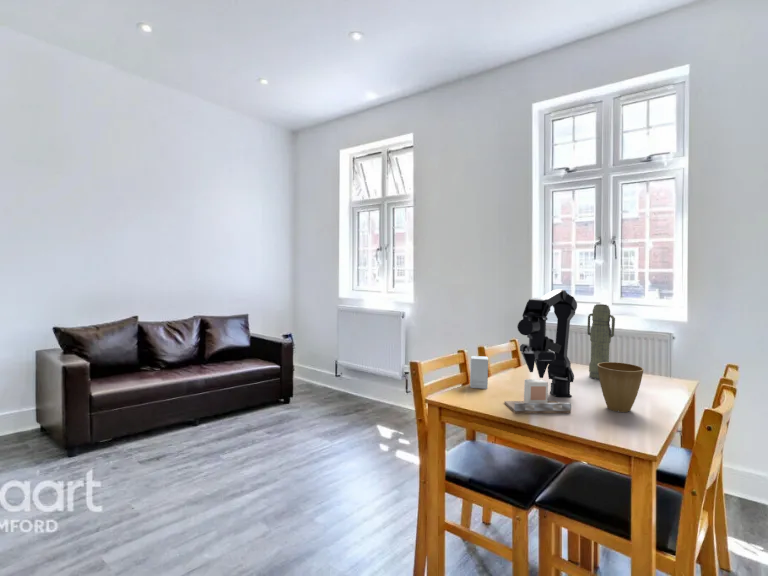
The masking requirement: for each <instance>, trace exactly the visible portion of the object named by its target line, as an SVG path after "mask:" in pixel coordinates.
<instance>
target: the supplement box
mask: <svg viewBox="0 0 768 576" xmlns="http://www.w3.org/2000/svg"><path fill="white" fill-rule="evenodd" d="M469 372H470V373H469V374H470V376H469V377H470V379H469V380H470V383H469V384H470V385H469V387H470V388H471V389H472V388H474V389H485V390H488V388H489V387H488V380H489V377H488V376H489V357H488V356H479V355H471V357H470V371H469Z"/></svg>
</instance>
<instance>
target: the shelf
mask: <svg viewBox="0 0 768 576" xmlns="http://www.w3.org/2000/svg"><path fill="white" fill-rule="evenodd" d="M504 404H505V405H506V406H507V407H508V408H509V409H510V408H511V409H512V410H511V409H510V410H511V411H512V412H514V413H515V414H571V413H572V404H571V403H570V402H558V401H557V400H547V403H524V400H504Z"/></svg>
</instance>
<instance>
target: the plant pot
mask: <svg viewBox="0 0 768 576" xmlns="http://www.w3.org/2000/svg"><path fill="white" fill-rule="evenodd" d="M598 373H599V379H598V380H599V383H600V388H601V393H602V395H603V398H604V402H605V404H606V407H607V409H608V410H610V411H613V412H617V411H619V412H618V413H629V412H630V411H631V410H632V408H633V406H634V403H635V401H636V399H637V396H638V394H639V390H640V387H641V384H642V379H643V375H644V367H641V366H639V365H636V364H632V363H628V362H627V363H625V362H618V361H617V362H616V361H610V362H603V363H599V364H598ZM628 411H629V412H628Z"/></svg>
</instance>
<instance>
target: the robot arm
mask: <svg viewBox="0 0 768 576" xmlns="http://www.w3.org/2000/svg"><path fill="white" fill-rule="evenodd" d="M551 307H553V313H554V315H555V317H556V319H557V322H556V323H557V324H556V334H555V340H554V339H552V338H549V337H548V336H547V335H546V334H547V332H546V331H547V321H548V314H549V313H550V311H551ZM577 308H578V302H577V300H576V298H575V297H574V296H573V295H571V294H569V293H567V290H565V289H561V288H560V289H558V288H556V289H555V288H553V289H551V290H550V292H548V293H546V294H544V295H542V296H541V297H532V298H529V299H528V300H527V302H526V305H525V307H524V310H523V313H522V319H521V320H519V322H518V323H517V331H518V332H519V333H520V334H521V335H522V336H526V338H528V343H521V345H520V346H519V351H520V353H521V355H522V357H523V359H524V361H525V364H526V365H527V368H528V372H530V373H533V372H534V368H535V367H536V371H537V374H538V376H539V378H540V379H543V378H544V376H545V374H546V371H547V375H548V380H551V382H550V391H549V393H550V395H552V396H554V397H557V398H565V397H566V398H572V397H573V396H572V395H571V383H574V380H575V375H574V372H573V369H572V367H571V365H572V364H571V363H572V362H571V361H570V360H569V357H568V349H569V348H568V347H569V338H570V326H571V320H572V319H573V317H574V316H575V314H576V310H577ZM554 341H555V342H554Z"/></svg>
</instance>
